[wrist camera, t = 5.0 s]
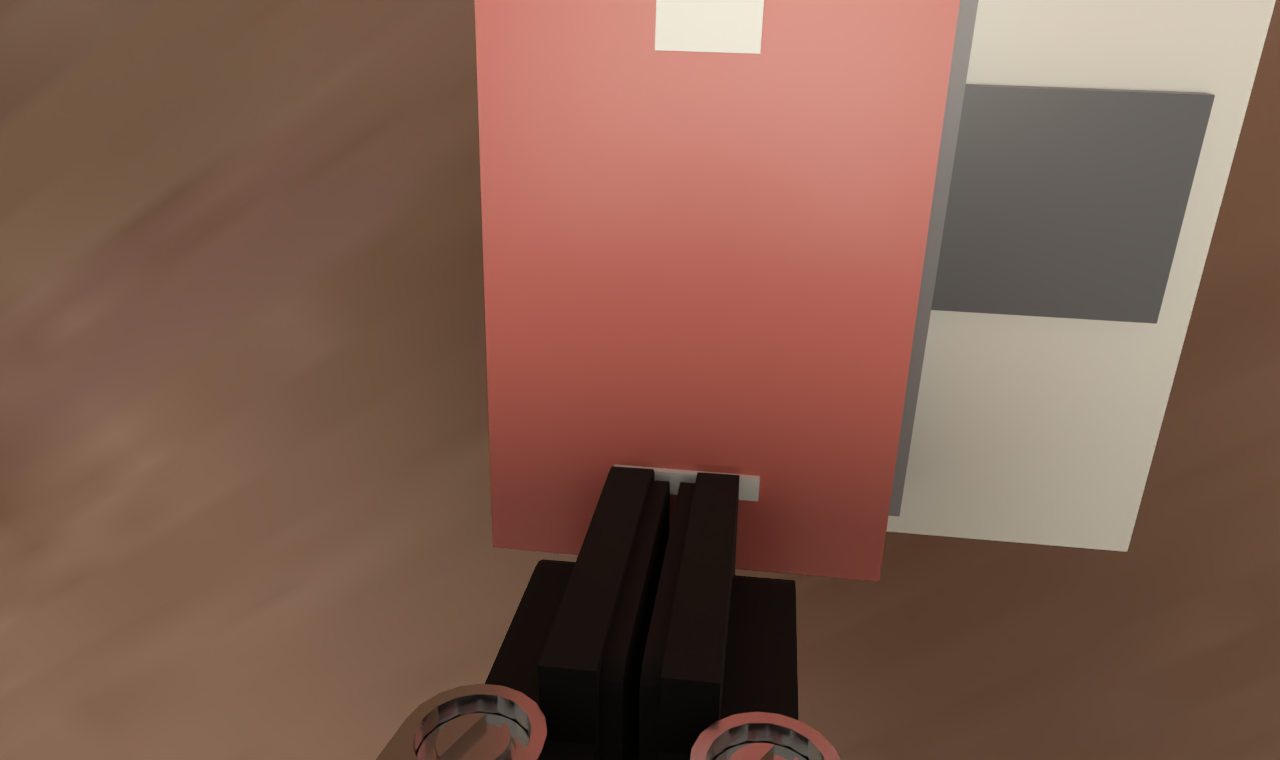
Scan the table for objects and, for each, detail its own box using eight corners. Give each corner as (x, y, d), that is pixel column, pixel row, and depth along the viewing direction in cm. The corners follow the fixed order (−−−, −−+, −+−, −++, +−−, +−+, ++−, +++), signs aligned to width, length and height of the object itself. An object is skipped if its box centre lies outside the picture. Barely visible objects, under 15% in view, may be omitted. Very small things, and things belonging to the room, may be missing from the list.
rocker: (927, -98, 12) (981, -136, 9) (857, 475, 15) (880, 585, 12) (535, -104, 12) (467, -141, 9) (542, 450, 15) (490, 551, 12)
